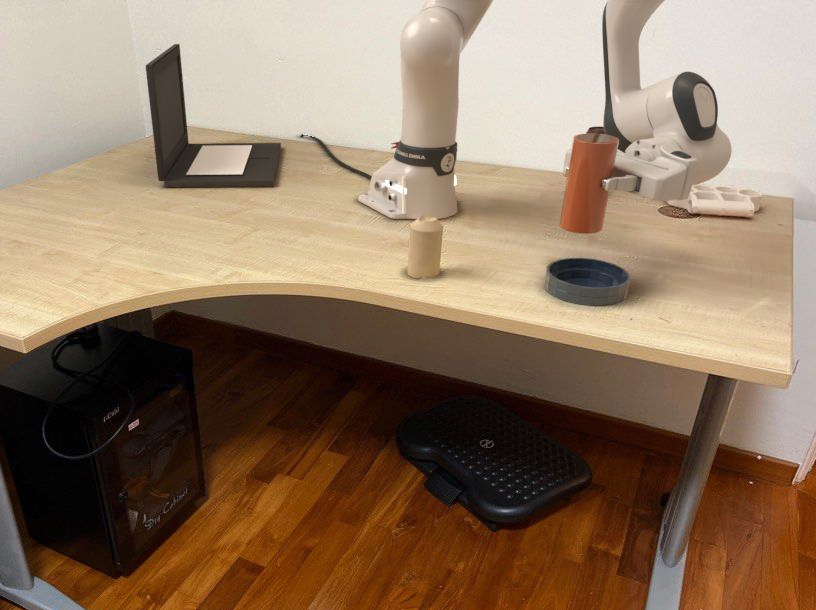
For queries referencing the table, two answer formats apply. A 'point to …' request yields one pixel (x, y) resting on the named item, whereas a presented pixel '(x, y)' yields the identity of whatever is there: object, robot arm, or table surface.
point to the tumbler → (588, 183)
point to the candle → (425, 247)
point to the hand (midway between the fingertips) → (585, 178)
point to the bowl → (587, 281)
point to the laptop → (198, 161)
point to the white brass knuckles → (720, 200)
